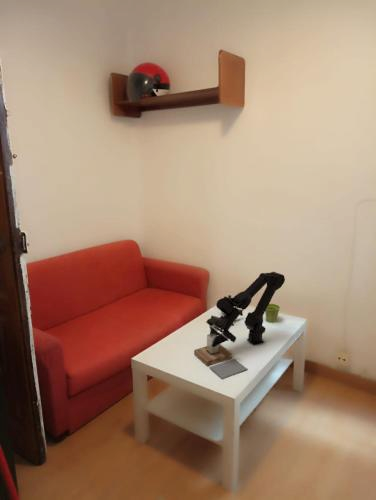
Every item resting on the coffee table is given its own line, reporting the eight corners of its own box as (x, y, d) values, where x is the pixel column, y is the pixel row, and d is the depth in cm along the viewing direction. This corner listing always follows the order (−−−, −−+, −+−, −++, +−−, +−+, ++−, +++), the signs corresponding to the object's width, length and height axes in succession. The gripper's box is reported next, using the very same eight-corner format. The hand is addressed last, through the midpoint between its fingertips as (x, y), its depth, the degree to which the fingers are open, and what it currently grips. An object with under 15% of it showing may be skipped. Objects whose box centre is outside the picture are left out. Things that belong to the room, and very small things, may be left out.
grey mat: (234, 359, 174) (234, 358, 174) (247, 370, 166) (247, 368, 166) (209, 368, 168) (209, 367, 168) (221, 379, 159) (221, 378, 159)
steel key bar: (214, 353, 181) (214, 332, 178) (218, 357, 177) (218, 336, 175) (207, 355, 179) (207, 334, 176) (211, 359, 175) (211, 338, 173)
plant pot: (279, 317, 219) (279, 303, 217) (279, 324, 210) (280, 310, 208) (263, 316, 221) (263, 303, 219) (263, 323, 212) (263, 309, 210)
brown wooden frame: (218, 347, 186) (218, 342, 186) (231, 357, 176) (231, 353, 176) (194, 354, 180) (194, 350, 179) (207, 366, 170) (207, 361, 169)
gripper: (209, 303, 182) (190, 329, 180) (231, 317, 166) (210, 345, 164) (222, 314, 188) (204, 339, 185) (244, 328, 172) (225, 356, 169)
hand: (210, 344), depth 176 cm, fingers closed on steel key bar, 4 cm apart
